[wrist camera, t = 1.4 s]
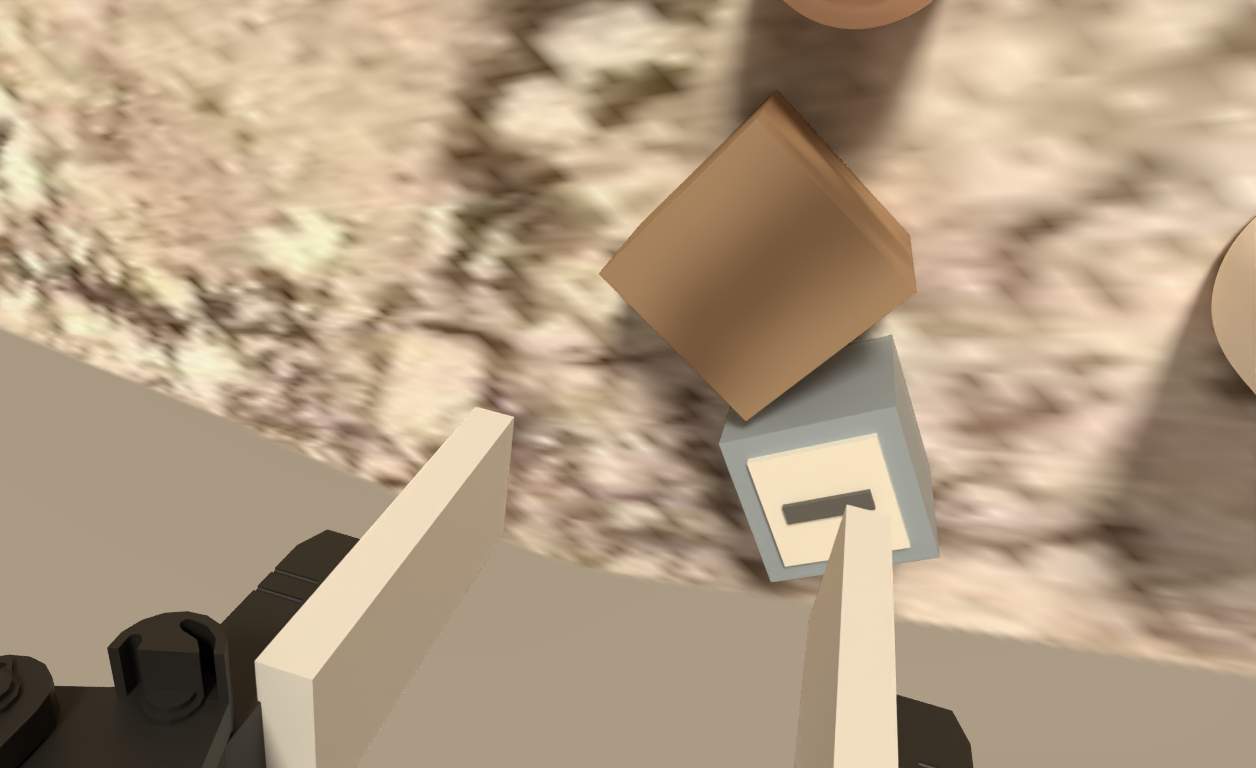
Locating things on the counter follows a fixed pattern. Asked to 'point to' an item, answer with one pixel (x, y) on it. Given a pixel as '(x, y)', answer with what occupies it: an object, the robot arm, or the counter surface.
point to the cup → (1238, 305)
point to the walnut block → (765, 260)
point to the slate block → (833, 462)
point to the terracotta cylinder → (857, 11)
